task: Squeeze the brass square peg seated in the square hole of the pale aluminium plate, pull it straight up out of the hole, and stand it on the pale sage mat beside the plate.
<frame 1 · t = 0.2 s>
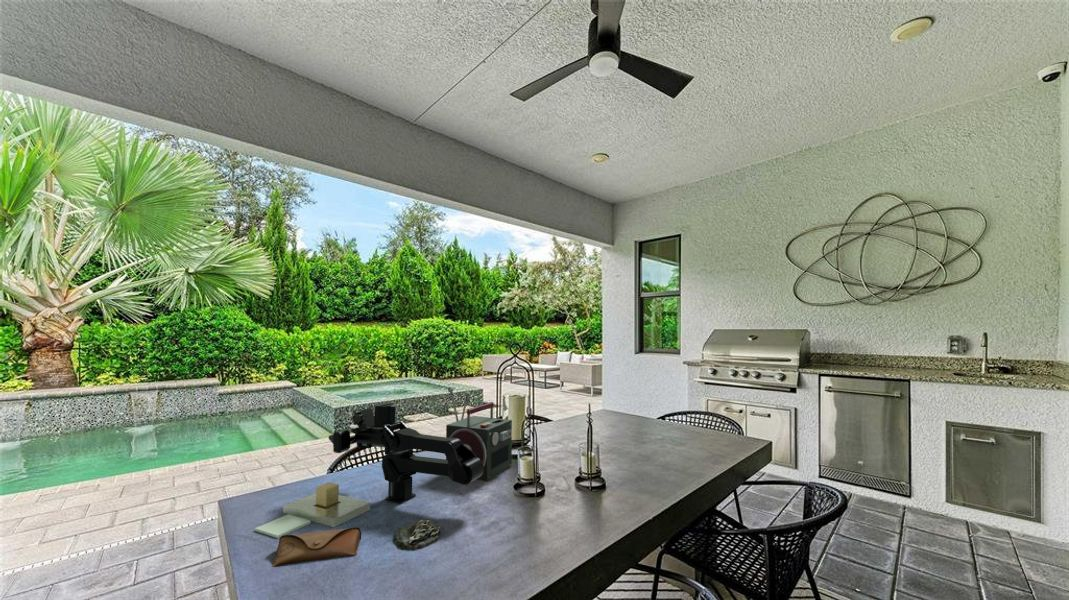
hand: (340, 433, 142), 17 cm above the table, tool horizontal, fingers open, 9 cm apart
aluminium plate: (327, 511, 122), on the table
sage mat: (283, 526, 112), on the table
brass peg: (327, 498, 122), in the aluminium plate
mossy grey rock: (417, 540, 106), on the table
sunglasses case: (318, 555, 100), on the table
boombox: (478, 470, 157), on the table
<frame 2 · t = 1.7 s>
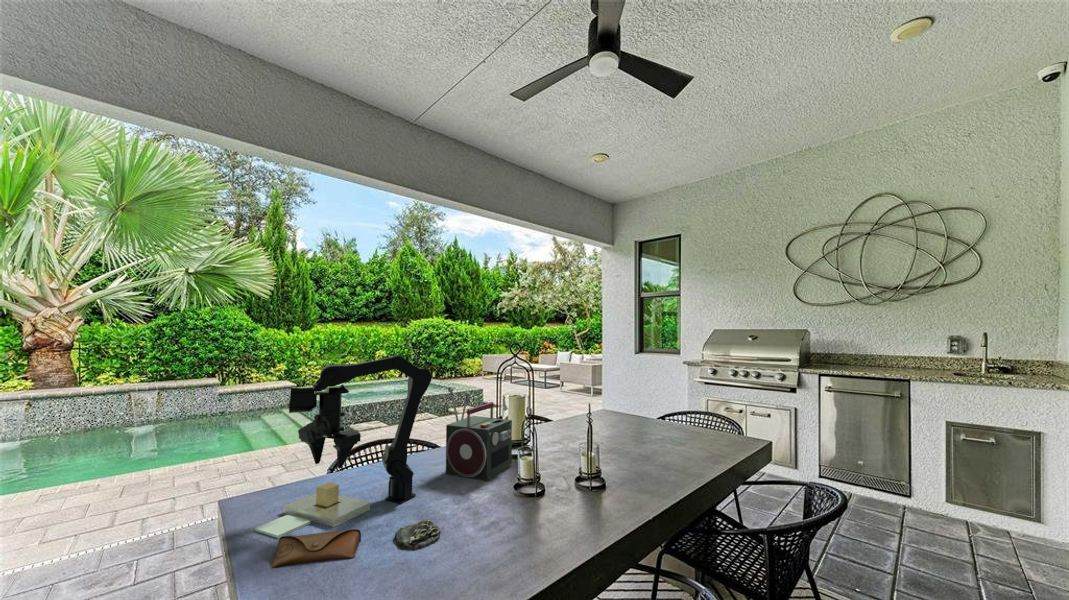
hand: (328, 465, 122), 12 cm above the table, tool pointing down, fingers open, 9 cm apart
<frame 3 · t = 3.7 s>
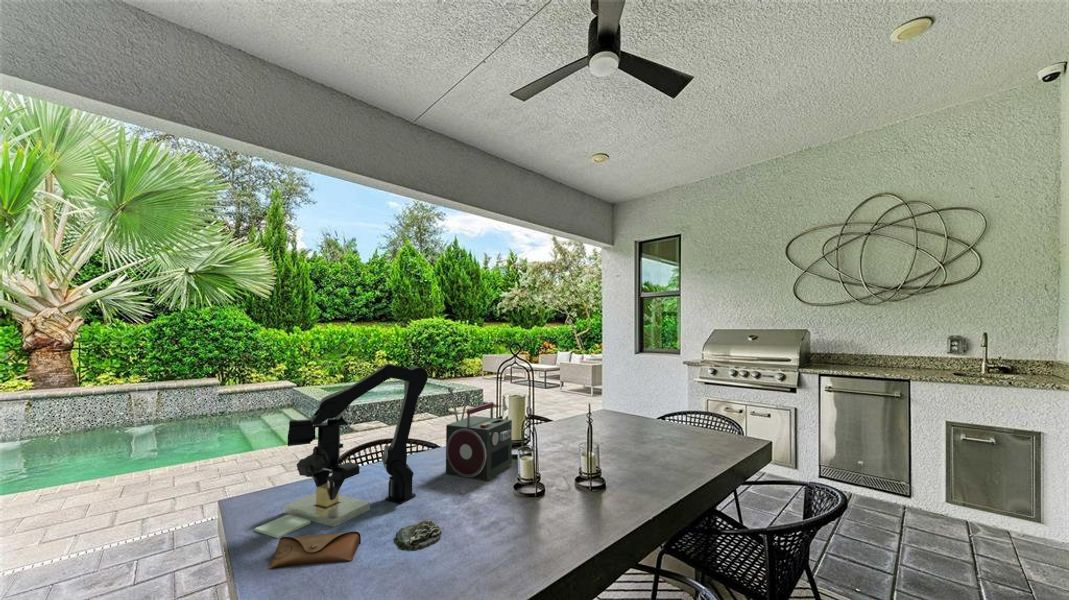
hand: (327, 498, 122), 4 cm above the table, tool pointing down, fingers closed on brass peg, 4 cm apart
brass peg: (327, 498, 122), in the aluminium plate, touching gripper
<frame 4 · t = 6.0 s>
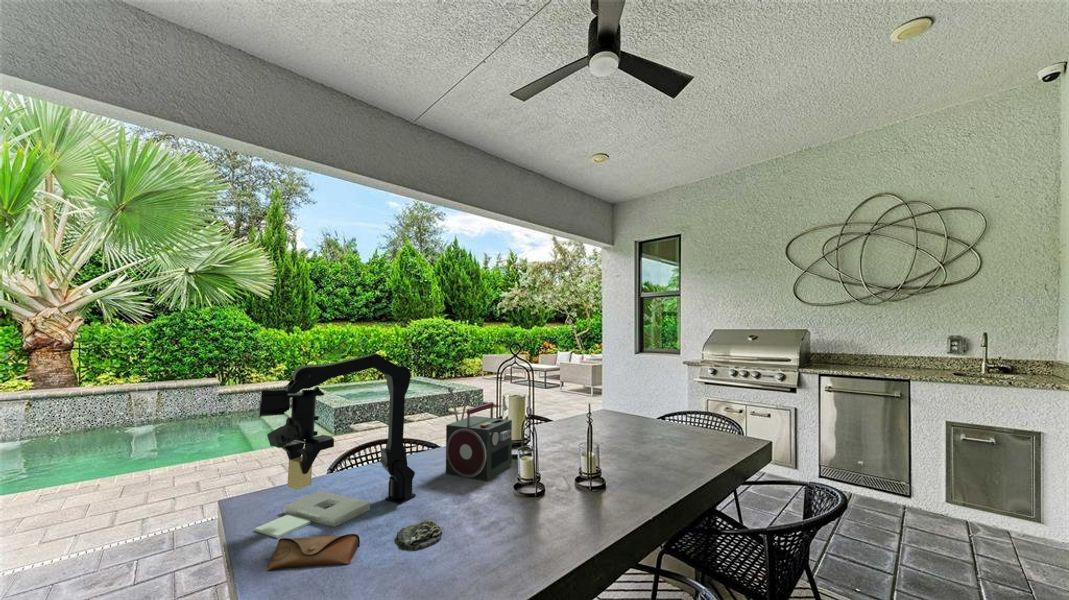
hand: (299, 472, 116), 13 cm above the table, tool pointing down, fingers closed on brass peg, 4 cm apart
brass peg: (300, 472, 116), point 13 cm above the table, touching gripper
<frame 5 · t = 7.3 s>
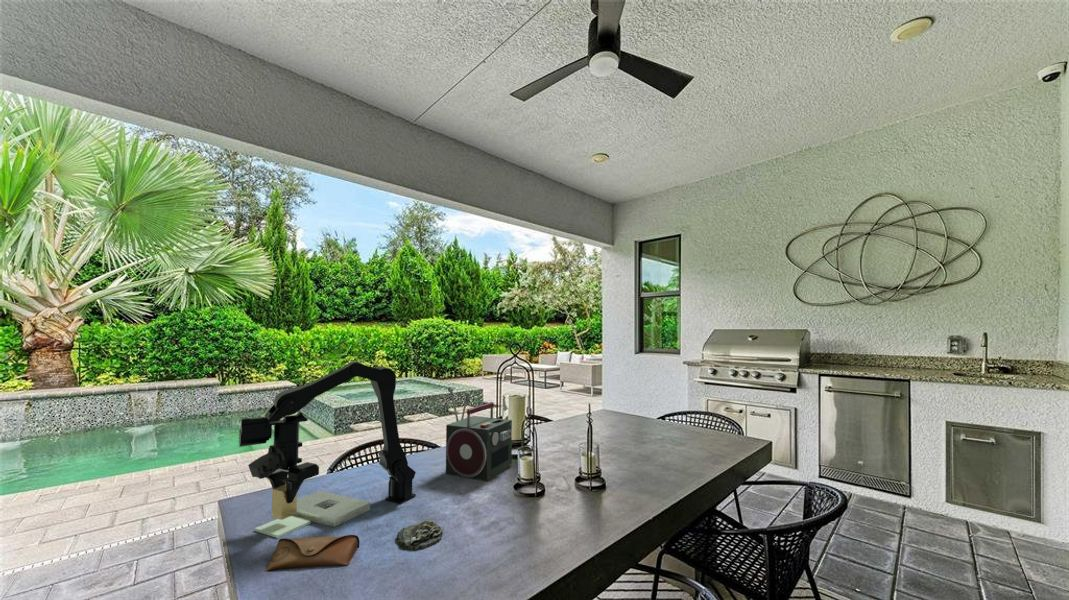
hand: (284, 501, 112), 6 cm above the table, tool pointing down, fingers closed on brass peg, 4 cm apart
brass peg: (284, 501, 112), point 6 cm above the table, touching gripper
when the fingers open (5 cm above the table, at t = 8.3 s): brass peg drops 1 cm, resting on sage mat.
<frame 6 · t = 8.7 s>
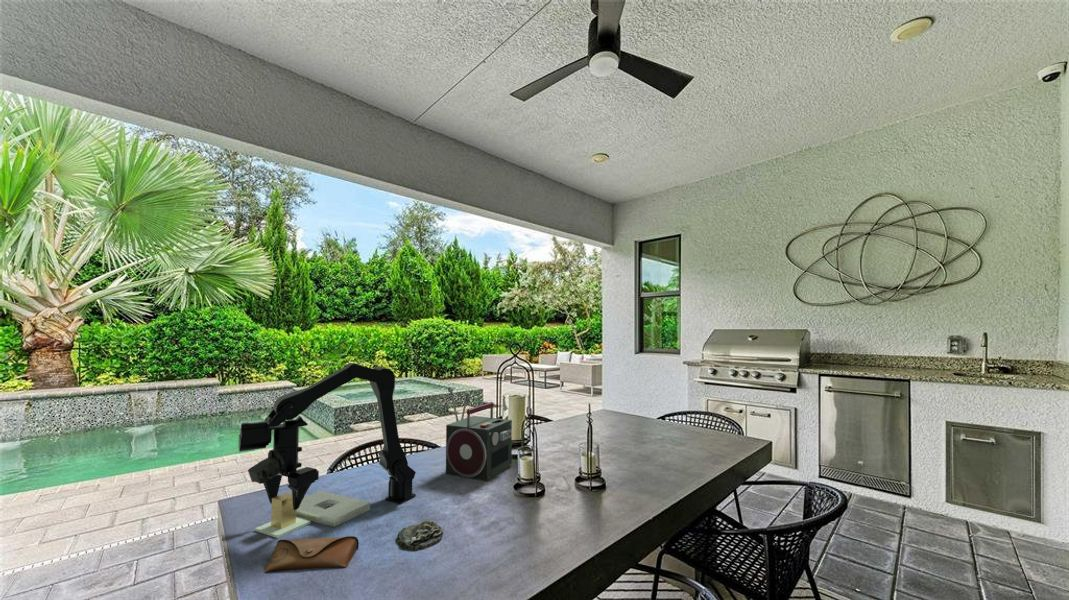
hand: (284, 506, 112), 5 cm above the table, tool pointing down, fingers open, 9 cm apart
brass peg: (283, 510, 112), on the sage mat, point 4 cm above the table
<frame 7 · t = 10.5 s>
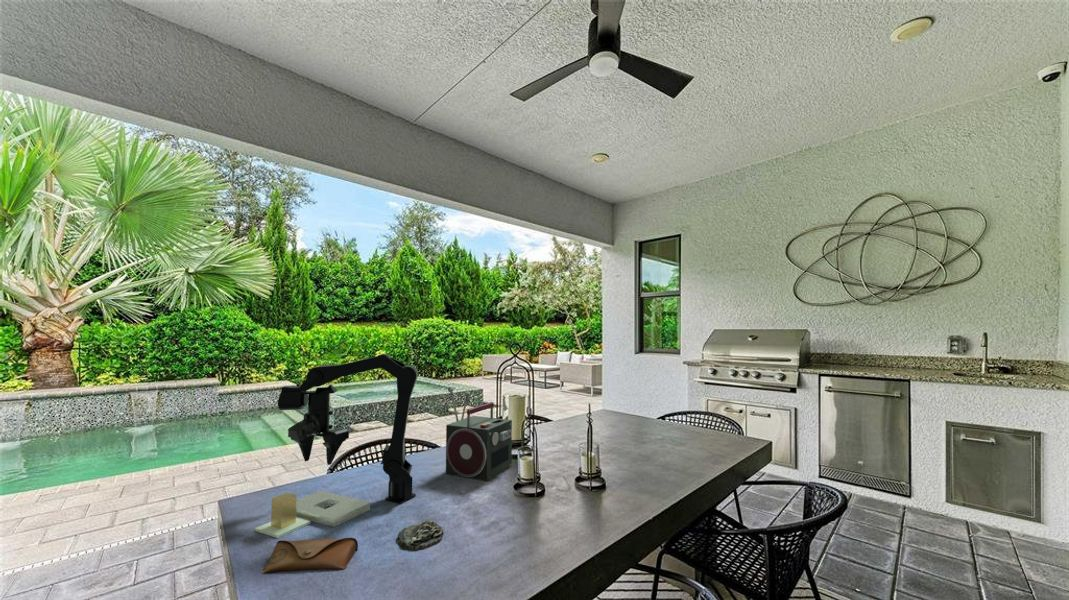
hand: (317, 462, 127), 12 cm above the table, tool pointing down, fingers open, 9 cm apart
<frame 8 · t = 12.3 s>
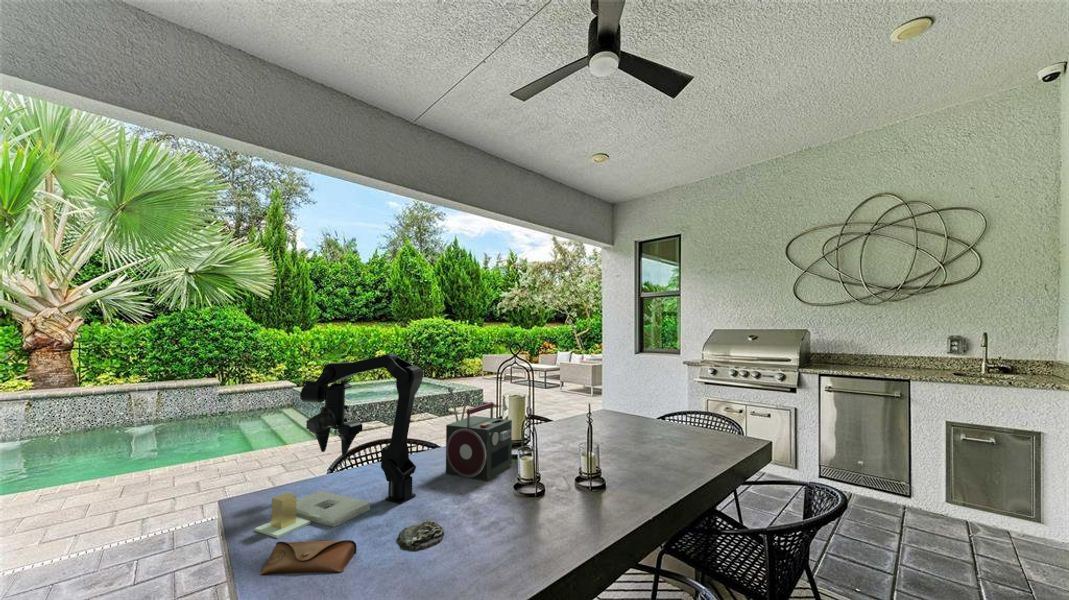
hand: (333, 453, 136), 12 cm above the table, tool pointing down, fingers open, 9 cm apart
at the end: brass peg inside the target area on the sage mat (0.0 cm from its centre), point 4.1 cm above the sage mat's base; brass peg tilted 0°; the gripper is holding nothing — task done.
